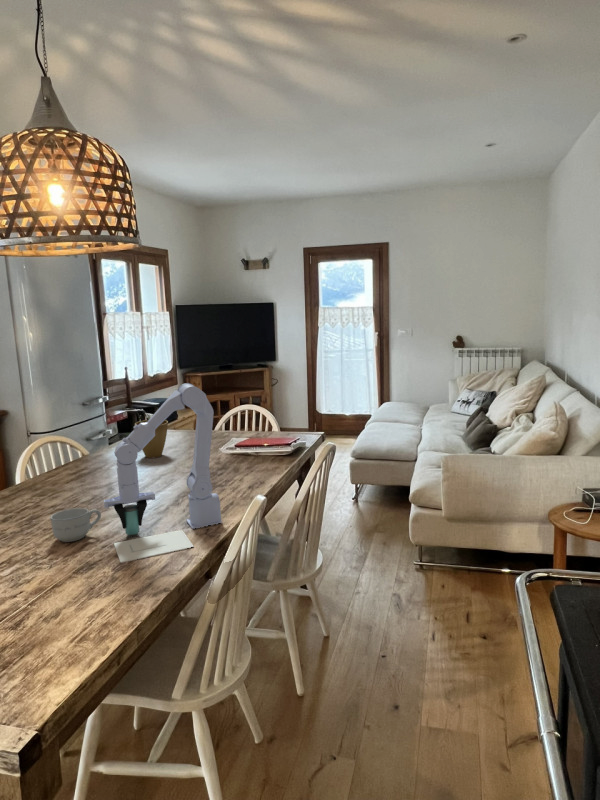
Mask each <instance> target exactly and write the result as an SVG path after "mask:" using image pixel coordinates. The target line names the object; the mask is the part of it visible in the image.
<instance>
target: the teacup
mask: <svg viewBox="0 0 600 800" xmlns="http://www.w3.org/2000/svg"><path fill="white" fill-rule="evenodd" d="M95 513H96V515H97V517H96V519H95V520H93V521H91V522H90V519H91V517H92V514H95ZM101 517H102V513H101V511H100V510H99V509H95V508H93V509H91V510H89V509H88V508H84V507H75V508H74V507H73V508H67V509H64V510H61V511H57V512H55V513H52V514H51V516H50V517H49V519H50V523H51V528H52V529H51V530H52V534H53V536H54V538H55V539H57V540H59V541H61V542H63V543H69V542H71V543H72V542H76V541H79V540H81V539H83V538H84V537H85V536H86V535H87V534H88V533H89V531H90V530H91V529H92V528H93V526H95V525H96V524H97V523H98V522H99V521H100V520H101Z"/></svg>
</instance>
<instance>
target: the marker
mask: <svg viewBox="0 0 600 800" xmlns="http://www.w3.org/2000/svg"><path fill="white" fill-rule="evenodd" d="M123 508H124V519H125V525H126V529H124V531H125V534H126V535H127V537H128V538H136V537H138V536H137V535H139V533H140V526H139V519H138V506H137V504H134V503H130V504H127V505H126V504H125V505H123ZM135 536H136V537H135Z"/></svg>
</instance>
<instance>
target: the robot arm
mask: <svg viewBox="0 0 600 800" xmlns="http://www.w3.org/2000/svg"><path fill="white" fill-rule="evenodd" d="M185 406H186V407H188V408H189V409H191V410H192V411H193V413H194V414H195V415H196V424H195V432H194V433H195V434H194V435H195V436H194V444H193V445H194V446H193V457H192V465H191V467H190V472H189V475H188V476H187V478H186V486H187V488H188V489H189V493H188V495H187V497H188V498H187V499H188V509H189V518H187V519H186V523H187V525H189V527H190V528H191V529H192V530H196V529H199V528H200V527H201V528H205V527H204V526H206V527H209V526H208V525H211V526H214V525H213V524H216V525H219V524H218V523H221V524H222V523H223V521H222V510H221V501H220V497H219V494H218V493H217V492H216V493H215V492H214V493H213V484H212V481H211V469H210V458H211V448H212V447H211V445H212V438H213V437H212V434H213V427H214V426H213V423H214V414H215V413H214V409H213V406H212V405H211V402H210V400H209V399H208V398H207V393H205V392H204V391H202V389H200V388H199V387H198V386H195V385H194V384H192V383H189V382H187V383H183V384H181V385H179V386H178V388H177V389H175V390H174V391H173V392H172V393H171V394H170V395H169V396H168V397H167V398H166V400H165V401H164V402H163V403H162V404H161V405H160V407H158V409H157V410H156V411H155V412H154V413H153V415H152V416H151V417H150V418H149V419H147V420H148V422H145V423H140V424H139V425H137V424H136V425H135V424H134V426H133V430H132V431H131V432H130V433H129V435H128V436H126V437H123V438H122V442H119V443H118V444H117V445H116V447H115V449H114V453H113V454H114V456H115V457H116V459H117V460H116V467H117V468H116V475H117V484H118V494H119V495H118V496H115V497H111V498H108V499H103V507H104V509H107V508H109V507H113V508H114V510H115V512H116V514H117V515H118V518H119V519H120V522H121V527H122V529H124V530H125V529H126V525H125V519H124V508H123V507H124V505H126V504H127V505H129V504H134V503H136V505H137V506H138V519H139V527H141V526H142V525H143V519H144V518H143V517H144V513H145V511H146V508H147V507H148V502H147V501H155V500H156V494H155V492H154V491H151V492H150V491H149V492H140V488H139V486H140V485H139V484H140V483H139V474H138V466H137V459H138V456H139V455H138V454H139V452H141V451H143V450H142V449H143V448H144V447H145V446H146V445H147V444H148V443H149V442H150V441H151V440H152V438H153V437H154V436H155V429H156V428H157V427H158V426H159V425H160V424H161V423H162V422H163V421H164V420H167V419H168V418H169V417H170V416H171V415H172V414H173V413H174V412H176V411H180V410H185V409H186V407H185ZM195 528H196V529H195Z"/></svg>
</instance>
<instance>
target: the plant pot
mask: <svg viewBox="0 0 600 800" xmlns="http://www.w3.org/2000/svg"><path fill="white" fill-rule="evenodd" d="M148 420H149V419H145V420H140V421H136V422H135V423H134V426H135V425H136V424H137V425H139V424H140V423H145V422H148ZM168 423H169V421H168V420H167V419H165V420H164V421H163V422H162V423H161V424H160V425H159V426H158V427H157V428H156V429H155V436H154V437H153V438H152V440H151V441H150V442H149V443H148V444H147V445H146V446H145V447H144V448H143V449H142V450H141V451H142V452H143V454H144V456H145V458H148V459H150V458H151V459H153V457H155V458H159V456H160V457H162V455H163V451H164V450H165V445H166V441H167V434H168Z"/></svg>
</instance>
